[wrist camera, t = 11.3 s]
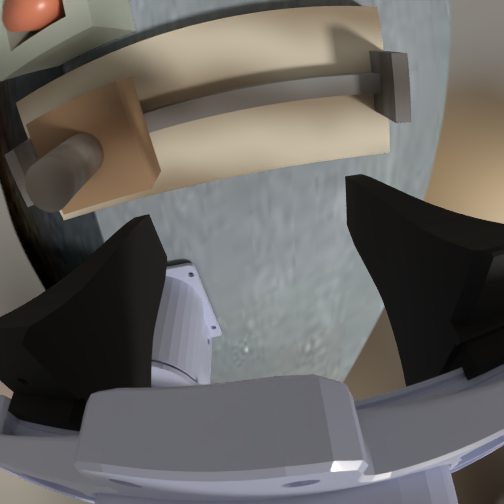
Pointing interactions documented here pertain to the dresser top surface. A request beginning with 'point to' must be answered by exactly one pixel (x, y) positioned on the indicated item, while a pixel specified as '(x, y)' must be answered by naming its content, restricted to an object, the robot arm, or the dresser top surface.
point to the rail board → (246, 94)
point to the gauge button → (32, 14)
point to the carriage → (91, 150)
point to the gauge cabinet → (63, 36)
